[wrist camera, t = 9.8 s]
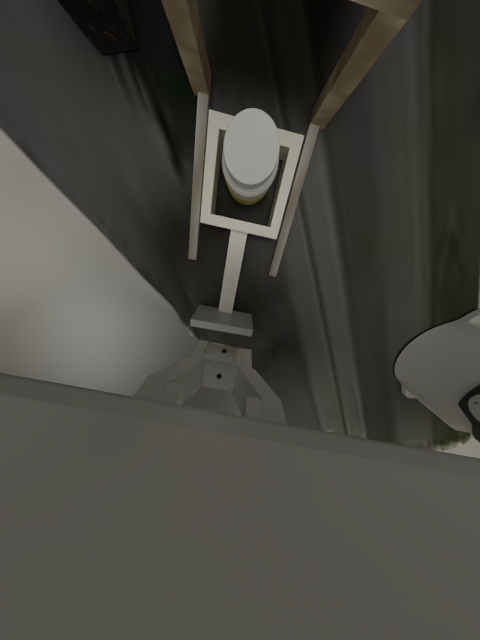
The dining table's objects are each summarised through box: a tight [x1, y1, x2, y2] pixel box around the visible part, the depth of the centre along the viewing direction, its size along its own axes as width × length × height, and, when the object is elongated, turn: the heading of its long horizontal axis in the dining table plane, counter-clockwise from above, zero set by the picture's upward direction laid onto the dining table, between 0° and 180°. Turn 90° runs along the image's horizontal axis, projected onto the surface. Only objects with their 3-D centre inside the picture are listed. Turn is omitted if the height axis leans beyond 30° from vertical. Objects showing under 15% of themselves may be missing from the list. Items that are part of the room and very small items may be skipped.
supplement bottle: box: [222, 108, 280, 206], centre depth 15 cm, size 5×5×8 cm
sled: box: [190, 109, 304, 337], centre depth 20 cm, size 8×20×5 cm, turn 169°
